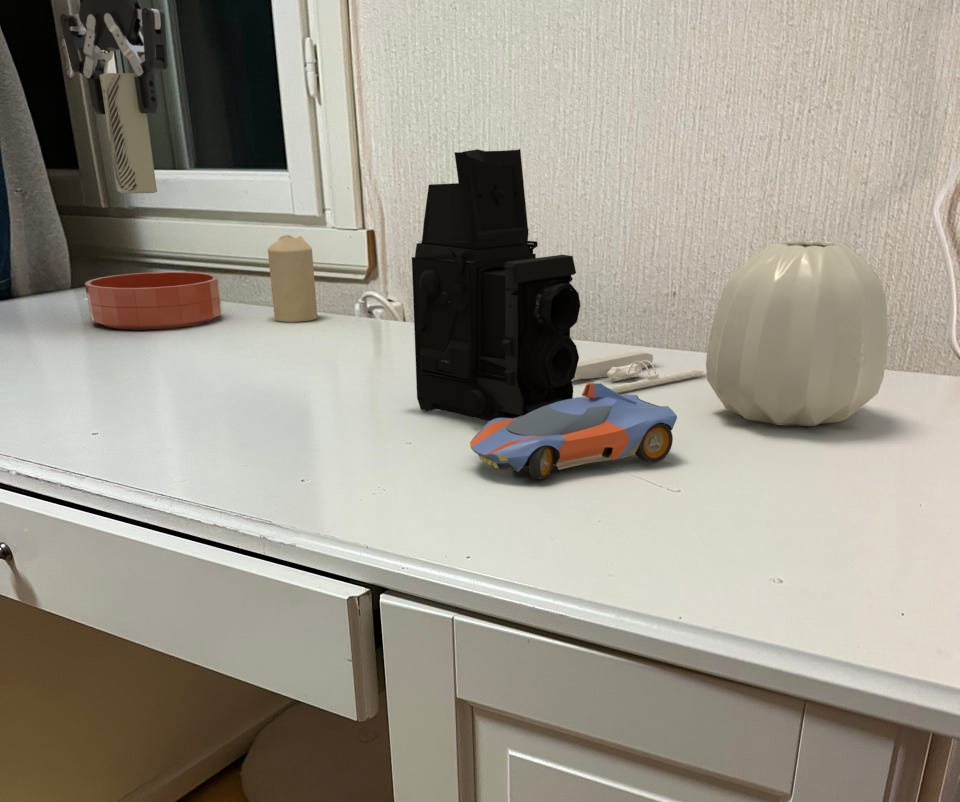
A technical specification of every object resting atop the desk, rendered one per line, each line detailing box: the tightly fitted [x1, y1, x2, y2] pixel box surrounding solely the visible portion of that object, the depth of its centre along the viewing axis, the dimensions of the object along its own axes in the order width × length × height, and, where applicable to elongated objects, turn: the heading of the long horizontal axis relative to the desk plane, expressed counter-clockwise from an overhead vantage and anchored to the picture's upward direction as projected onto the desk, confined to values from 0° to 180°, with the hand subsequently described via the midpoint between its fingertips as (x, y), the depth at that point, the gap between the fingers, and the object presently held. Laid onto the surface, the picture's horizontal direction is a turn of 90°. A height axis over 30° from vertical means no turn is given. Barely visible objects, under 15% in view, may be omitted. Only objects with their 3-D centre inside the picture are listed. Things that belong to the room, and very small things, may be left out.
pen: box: [572, 350, 654, 380], centre depth 96 cm, size 2×14×2 cm, turn 131°
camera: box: [411, 148, 581, 422], centre depth 79 cm, size 10×14×20 cm
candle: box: [267, 234, 318, 323], centre depth 126 cm, size 6×6×10 cm
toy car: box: [469, 382, 678, 480], centre depth 70 cm, size 8×15×5 cm, turn 117°
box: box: [99, 72, 158, 194], centre depth 119 cm, size 5×4×13 cm
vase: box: [705, 240, 889, 427], centre depth 79 cm, size 14×14×13 cm
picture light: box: [606, 360, 704, 394], centre depth 93 cm, size 14×4×2 cm, turn 127°
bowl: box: [84, 271, 223, 331], centre depth 127 cm, size 16×16×5 cm
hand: (126, 113), depth 118 cm, fingers closed on box, 6 cm apart
